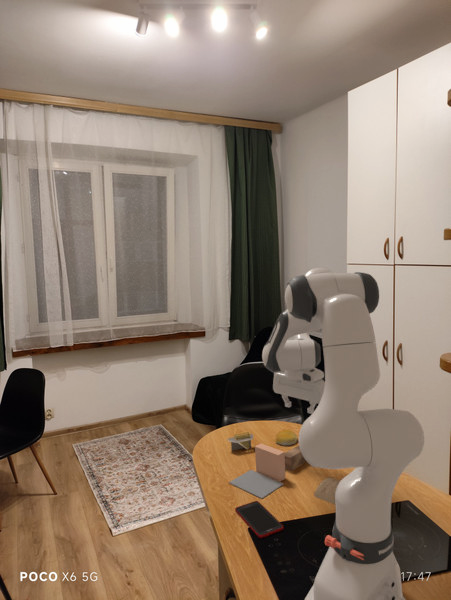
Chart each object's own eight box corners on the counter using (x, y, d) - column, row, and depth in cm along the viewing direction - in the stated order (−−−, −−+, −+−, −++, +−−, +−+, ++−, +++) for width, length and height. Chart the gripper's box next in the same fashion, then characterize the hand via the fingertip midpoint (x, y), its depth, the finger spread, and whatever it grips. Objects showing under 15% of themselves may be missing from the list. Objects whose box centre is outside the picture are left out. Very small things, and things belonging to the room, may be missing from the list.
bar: (290, 472, 143) (290, 457, 142) (282, 468, 145) (281, 454, 145) (317, 455, 154) (317, 441, 153) (309, 452, 156) (309, 439, 156)
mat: (261, 498, 128) (261, 497, 128) (229, 483, 138) (229, 482, 138) (283, 484, 135) (283, 483, 135) (250, 470, 145) (250, 469, 145)
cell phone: (257, 503, 126) (257, 500, 126) (285, 530, 113) (285, 527, 113) (234, 511, 123) (233, 507, 123) (259, 540, 110) (259, 536, 110)
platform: (270, 452, 158) (269, 435, 158) (224, 462, 153) (223, 444, 152) (258, 440, 169) (257, 424, 169) (214, 448, 164) (213, 432, 163)
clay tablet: (342, 511, 120) (341, 502, 120) (310, 499, 127) (310, 490, 127) (363, 488, 131) (363, 480, 131) (333, 478, 138) (333, 470, 138)
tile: (279, 482, 137) (278, 455, 136) (256, 472, 144) (255, 446, 143) (285, 478, 139) (284, 451, 138) (262, 468, 146) (260, 443, 145)
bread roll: (274, 446, 163) (274, 436, 163) (277, 436, 172) (276, 426, 171) (296, 447, 161) (296, 437, 161) (298, 437, 170) (297, 427, 169)
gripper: (268, 368, 151) (270, 405, 153) (317, 378, 137) (319, 419, 138) (279, 364, 156) (280, 400, 157) (328, 373, 141) (329, 413, 143)
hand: (299, 409), depth 148 cm, fingers open, 8 cm apart
